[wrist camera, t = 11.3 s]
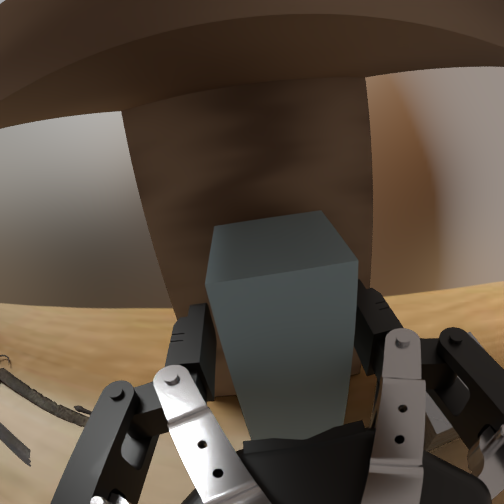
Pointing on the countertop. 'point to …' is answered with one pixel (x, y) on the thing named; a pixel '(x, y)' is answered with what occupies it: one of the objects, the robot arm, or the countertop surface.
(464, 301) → the countertop surface
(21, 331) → the countertop surface
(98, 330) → the countertop surface
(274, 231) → the block
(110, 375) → the countertop surface
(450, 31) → the brown tall blocky piece
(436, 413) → the grey square block
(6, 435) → the hacksaw
